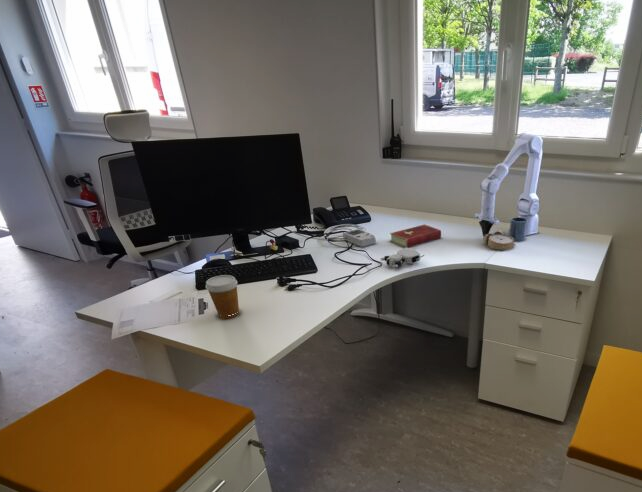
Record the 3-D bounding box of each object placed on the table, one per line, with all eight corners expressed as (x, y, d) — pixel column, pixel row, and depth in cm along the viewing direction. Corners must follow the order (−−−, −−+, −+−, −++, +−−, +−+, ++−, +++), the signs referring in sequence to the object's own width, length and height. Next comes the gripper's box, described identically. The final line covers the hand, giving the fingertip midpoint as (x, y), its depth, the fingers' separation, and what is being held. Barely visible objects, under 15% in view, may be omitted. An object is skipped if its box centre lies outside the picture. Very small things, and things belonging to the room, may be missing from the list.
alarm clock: (501, 245, 196) (478, 231, 204) (498, 255, 199) (476, 241, 208) (519, 240, 201) (496, 226, 210) (516, 250, 204) (494, 236, 213)
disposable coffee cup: (218, 308, 152) (209, 275, 146) (247, 307, 153) (239, 274, 147) (209, 321, 144) (200, 287, 138) (240, 320, 145) (232, 286, 139)
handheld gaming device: (361, 248, 202) (361, 239, 200) (343, 240, 212) (342, 231, 210) (377, 244, 207) (377, 235, 205) (358, 236, 217) (358, 228, 215)
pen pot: (516, 235, 217) (519, 216, 212) (527, 239, 212) (530, 220, 207) (505, 238, 214) (507, 218, 209) (516, 242, 208) (518, 222, 204)
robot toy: (396, 274, 179) (426, 263, 186) (395, 263, 176) (425, 252, 183) (379, 265, 187) (408, 254, 194) (378, 254, 185) (407, 244, 191)
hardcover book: (441, 238, 213) (441, 229, 211) (406, 248, 202) (406, 239, 200) (424, 232, 221) (424, 223, 219) (390, 241, 210) (390, 232, 207)
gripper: (470, 204, 206) (468, 233, 214) (491, 211, 196) (489, 242, 203) (482, 202, 210) (480, 231, 217) (504, 209, 199) (500, 239, 207)
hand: (485, 236), depth 210 cm, fingers closed
